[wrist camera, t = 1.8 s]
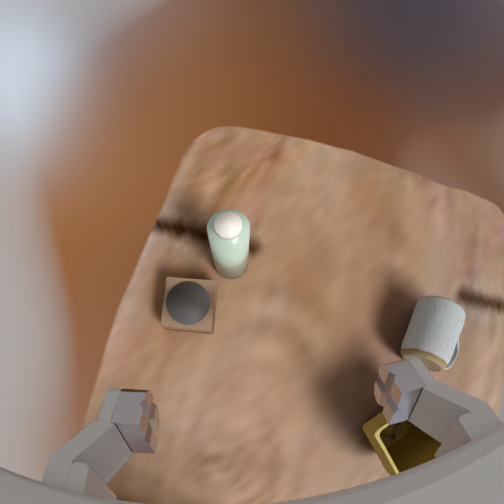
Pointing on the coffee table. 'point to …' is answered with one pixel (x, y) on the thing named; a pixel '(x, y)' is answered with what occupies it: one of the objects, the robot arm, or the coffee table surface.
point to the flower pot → (400, 444)
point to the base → (189, 305)
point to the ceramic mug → (434, 332)
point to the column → (229, 242)
